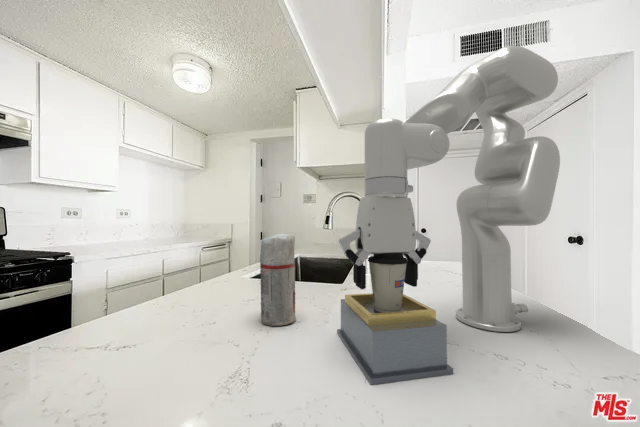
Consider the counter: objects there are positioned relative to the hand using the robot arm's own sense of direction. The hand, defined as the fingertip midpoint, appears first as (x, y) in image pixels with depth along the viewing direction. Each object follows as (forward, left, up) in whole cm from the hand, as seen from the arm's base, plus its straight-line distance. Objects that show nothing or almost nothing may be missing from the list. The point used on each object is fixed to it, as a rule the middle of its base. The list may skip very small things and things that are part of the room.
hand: (386, 286), depth 46 cm
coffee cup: (0, 0, -4) cm, 4 cm away
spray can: (+18, -18, -12) cm, 28 cm away
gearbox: (0, 0, -11) cm, 11 cm away
